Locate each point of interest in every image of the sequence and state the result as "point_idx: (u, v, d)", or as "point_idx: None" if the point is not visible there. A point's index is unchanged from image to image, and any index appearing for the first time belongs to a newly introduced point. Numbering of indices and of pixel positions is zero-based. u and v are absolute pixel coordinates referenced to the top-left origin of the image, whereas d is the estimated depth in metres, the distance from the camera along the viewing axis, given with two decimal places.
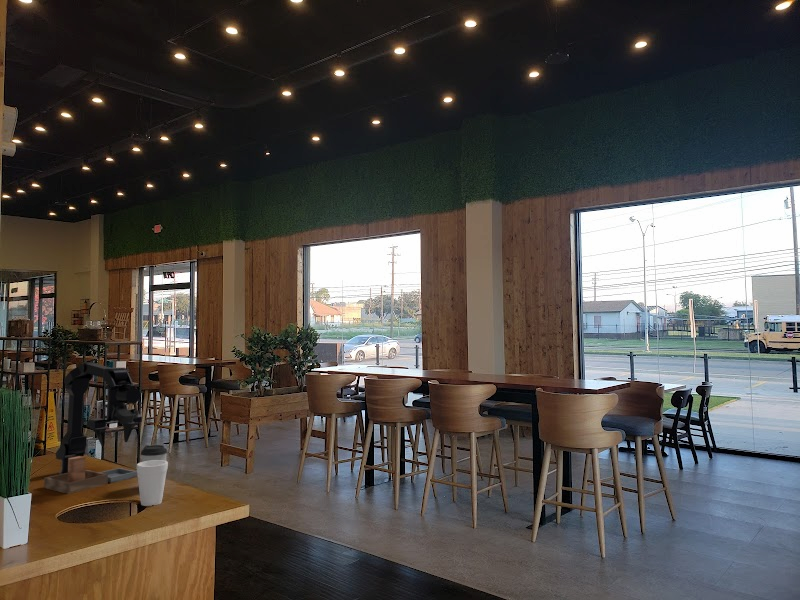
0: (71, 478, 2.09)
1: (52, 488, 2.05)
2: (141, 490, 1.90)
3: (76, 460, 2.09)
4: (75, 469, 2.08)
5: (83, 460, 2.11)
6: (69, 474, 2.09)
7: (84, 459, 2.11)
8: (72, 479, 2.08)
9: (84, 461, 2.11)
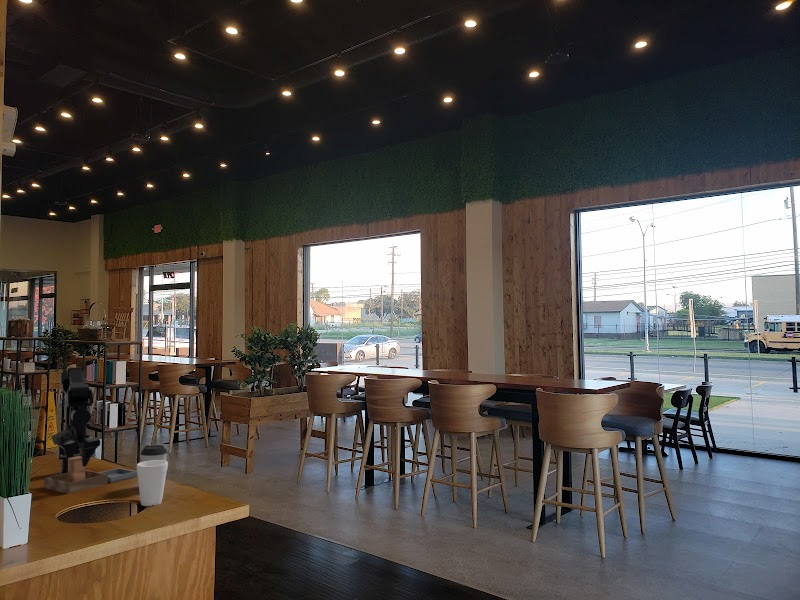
0: (71, 478, 2.09)
1: (52, 488, 2.05)
2: (141, 490, 1.90)
3: (76, 460, 2.09)
4: (75, 469, 2.08)
5: None
6: (69, 474, 2.09)
7: None
8: (72, 479, 2.08)
9: None
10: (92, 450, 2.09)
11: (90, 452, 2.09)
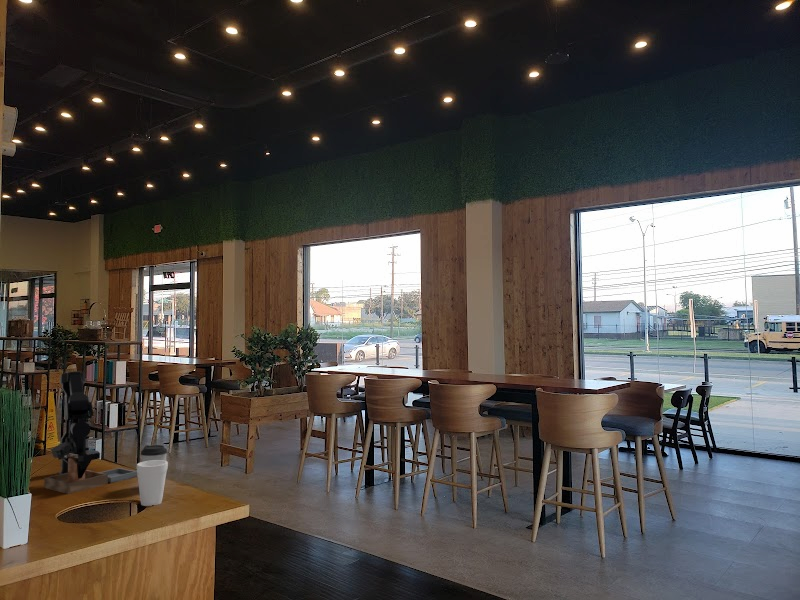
0: (71, 478, 2.09)
1: (52, 488, 2.05)
2: (141, 490, 1.90)
3: None
4: (75, 469, 2.08)
5: None
6: (69, 474, 2.09)
7: None
8: (72, 479, 2.08)
9: None
10: (88, 462, 2.10)
11: (86, 464, 2.10)
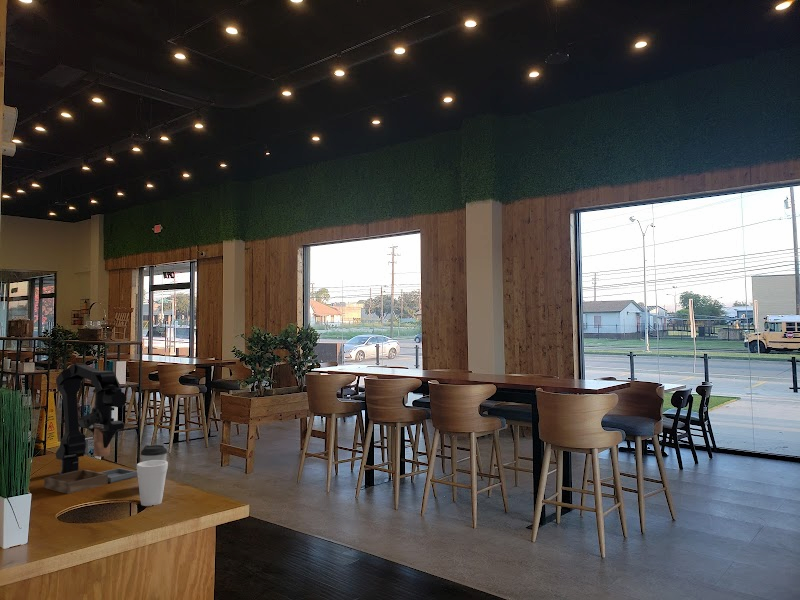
0: (97, 447, 2.16)
1: (52, 488, 2.05)
2: (141, 490, 1.90)
3: None
4: (101, 439, 2.15)
5: None
6: (95, 444, 2.16)
7: None
8: (98, 448, 2.16)
9: None
10: (113, 432, 2.17)
11: (111, 434, 2.17)
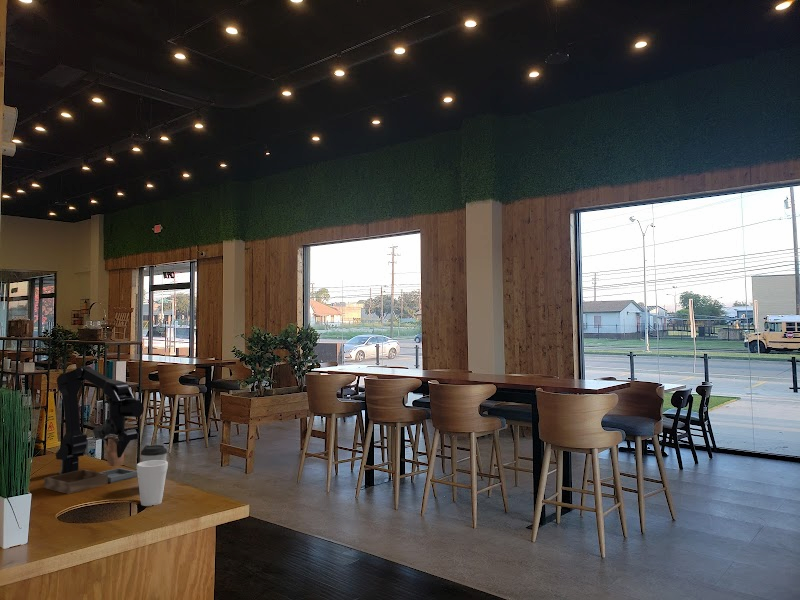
0: (111, 457, 2.20)
1: (52, 488, 2.05)
2: (141, 490, 1.90)
3: None
4: (115, 449, 2.20)
5: None
6: (109, 453, 2.21)
7: None
8: (112, 458, 2.20)
9: None
10: (126, 442, 2.22)
11: (124, 444, 2.21)
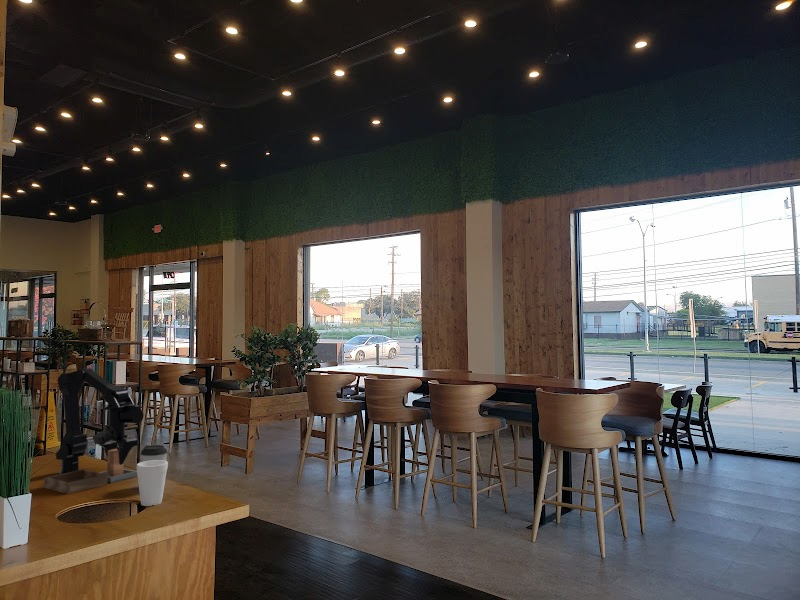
0: (111, 469, 2.20)
1: (52, 488, 2.05)
2: (141, 490, 1.90)
3: (115, 452, 2.20)
4: (115, 461, 2.19)
5: None
6: (109, 465, 2.20)
7: None
8: (111, 470, 2.19)
9: None
10: (128, 449, 2.21)
11: (126, 451, 2.21)
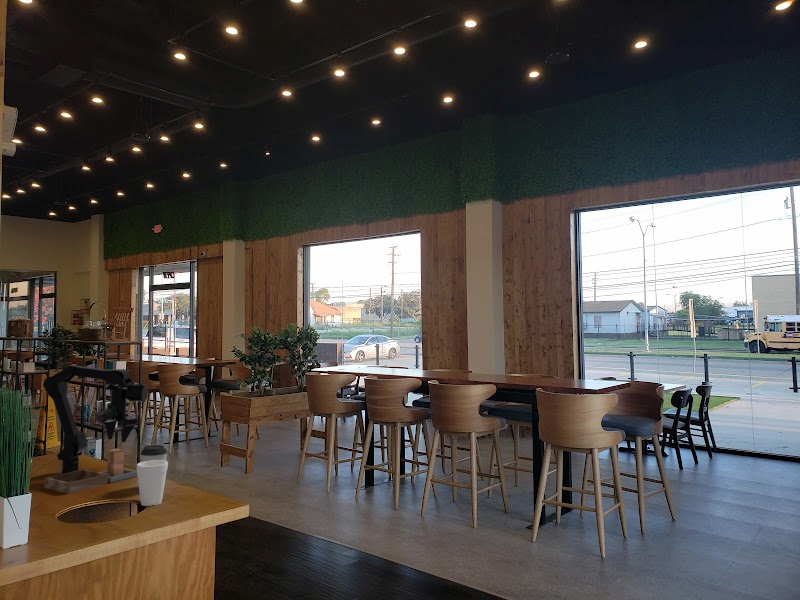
0: (111, 469, 2.20)
1: (52, 488, 2.05)
2: (141, 490, 1.90)
3: (115, 452, 2.20)
4: (115, 461, 2.19)
5: (121, 452, 2.22)
6: (109, 465, 2.20)
7: (122, 451, 2.22)
8: (111, 470, 2.19)
9: (122, 453, 2.22)
10: (131, 427, 2.29)
11: (129, 429, 2.29)
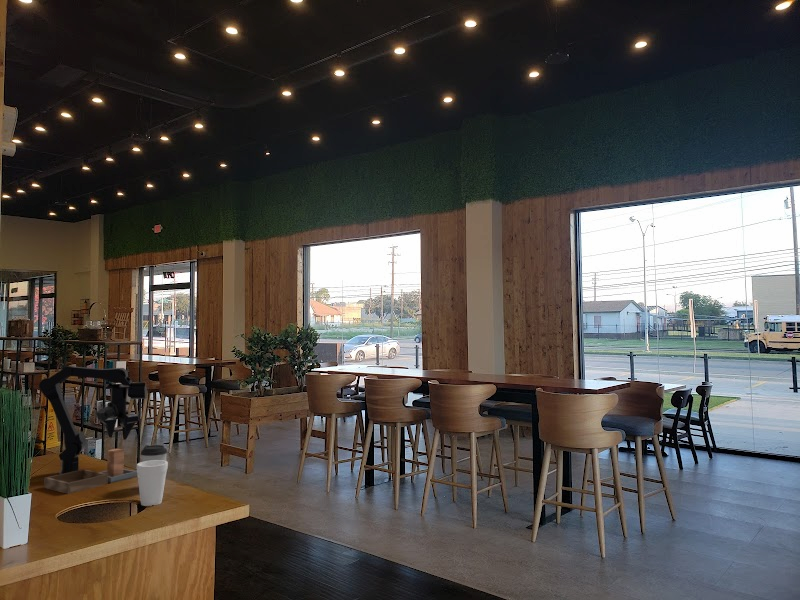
0: (111, 469, 2.20)
1: (52, 488, 2.05)
2: (141, 490, 1.90)
3: (115, 452, 2.20)
4: (115, 461, 2.19)
5: (121, 452, 2.22)
6: (109, 465, 2.20)
7: (122, 451, 2.22)
8: (111, 470, 2.19)
9: (122, 453, 2.22)
10: (131, 425, 2.33)
11: (130, 427, 2.33)
